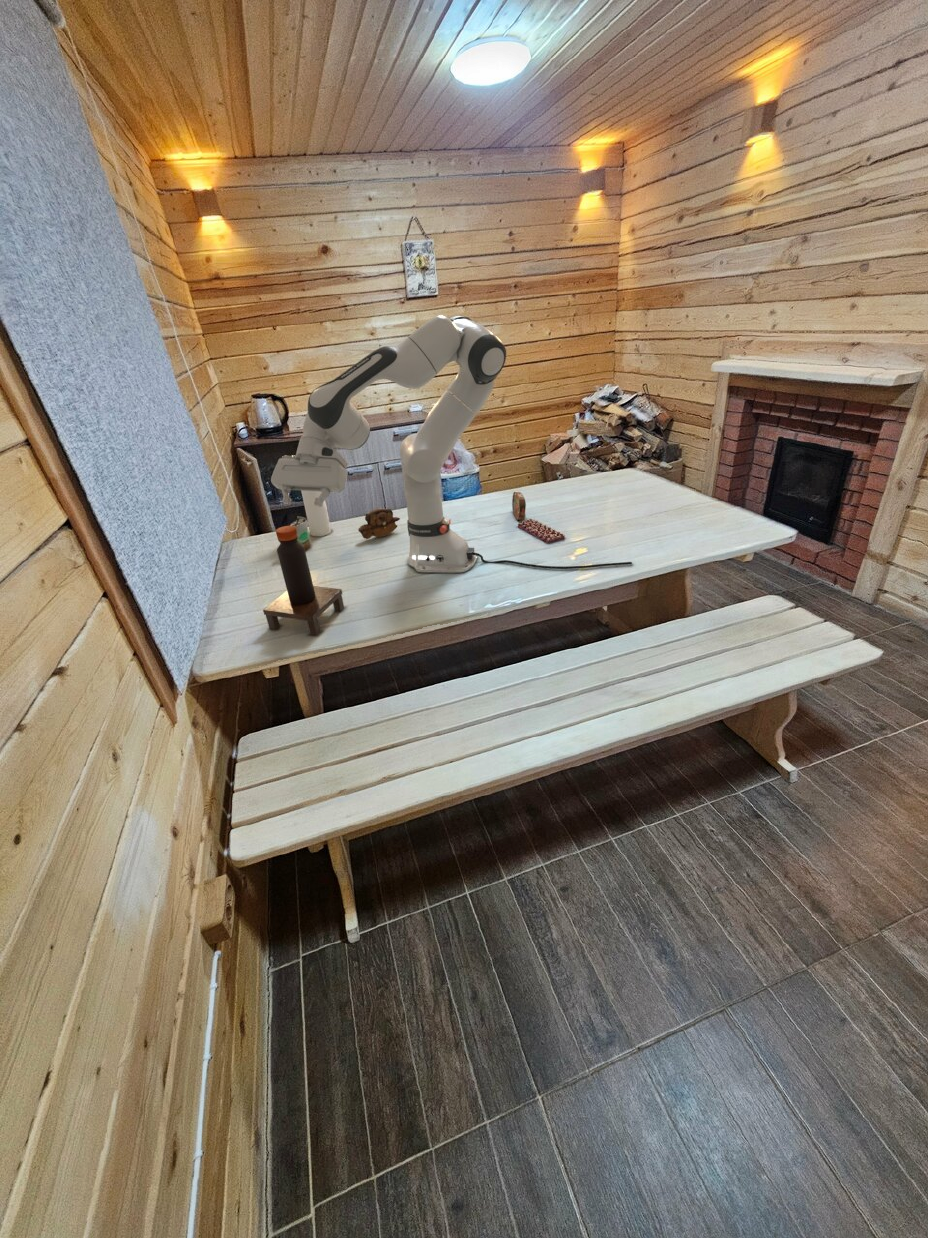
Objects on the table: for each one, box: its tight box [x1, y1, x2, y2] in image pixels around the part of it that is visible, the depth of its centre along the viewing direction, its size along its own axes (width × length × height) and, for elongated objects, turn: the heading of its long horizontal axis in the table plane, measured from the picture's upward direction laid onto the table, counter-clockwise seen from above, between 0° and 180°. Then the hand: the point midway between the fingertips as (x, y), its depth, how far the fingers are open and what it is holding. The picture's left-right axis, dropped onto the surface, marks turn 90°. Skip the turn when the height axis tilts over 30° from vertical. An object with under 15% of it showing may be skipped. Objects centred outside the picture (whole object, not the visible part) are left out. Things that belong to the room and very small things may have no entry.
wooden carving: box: [357, 508, 401, 540], centre depth 188 cm, size 16×5×10 cm, turn 131°
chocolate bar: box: [517, 518, 566, 544], centre depth 186 cm, size 7×19×2 cm, turn 28°
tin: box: [511, 491, 527, 521], centre depth 199 cm, size 15×3×8 cm, turn 5°
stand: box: [262, 585, 345, 636], centre depth 141 cm, size 15×15×6 cm
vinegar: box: [275, 525, 315, 605], centre depth 134 cm, size 7×7×20 cm
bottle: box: [300, 490, 332, 537], centre depth 189 cm, size 8×8×30 cm
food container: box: [287, 515, 311, 552], centre depth 182 cm, size 12×6×10 cm, turn 168°
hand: (301, 504), depth 134 cm, fingers open, 8 cm apart
